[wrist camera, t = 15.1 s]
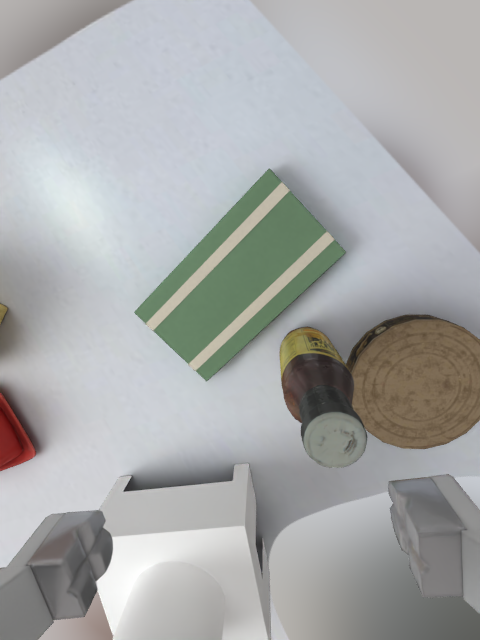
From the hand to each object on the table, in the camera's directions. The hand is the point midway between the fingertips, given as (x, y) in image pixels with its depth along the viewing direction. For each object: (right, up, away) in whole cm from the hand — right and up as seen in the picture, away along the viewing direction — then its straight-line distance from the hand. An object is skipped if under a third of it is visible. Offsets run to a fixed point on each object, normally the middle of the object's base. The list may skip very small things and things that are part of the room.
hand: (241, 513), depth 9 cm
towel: (0, +10, +29) cm, 31 cm away
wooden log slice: (+21, -2, +31) cm, 37 cm away
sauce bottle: (+8, +2, +31) cm, 32 cm away
